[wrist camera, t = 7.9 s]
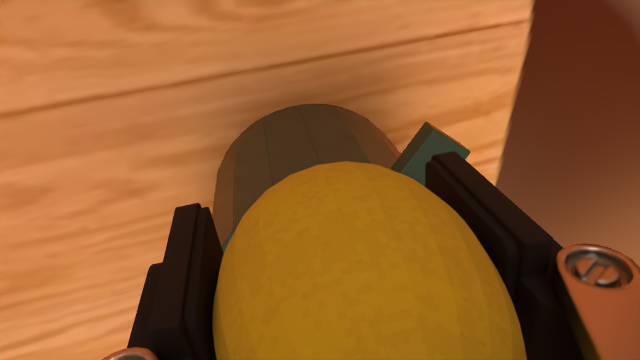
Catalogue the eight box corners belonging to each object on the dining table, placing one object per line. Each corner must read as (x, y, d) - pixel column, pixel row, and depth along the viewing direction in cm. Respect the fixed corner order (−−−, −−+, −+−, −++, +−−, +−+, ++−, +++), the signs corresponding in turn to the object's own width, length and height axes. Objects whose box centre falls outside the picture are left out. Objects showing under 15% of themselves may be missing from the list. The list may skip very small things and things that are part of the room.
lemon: (229, 99, 10) (218, 425, 3) (436, 126, 11) (755, 395, 4) (211, 278, 12) (182, 689, 5) (384, 283, 14) (537, 616, 7)
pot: (166, 253, 31) (136, 379, 22) (301, 25, 25) (337, 67, 16) (316, 307, 36) (342, 427, 27) (457, 129, 30) (553, 206, 21)
